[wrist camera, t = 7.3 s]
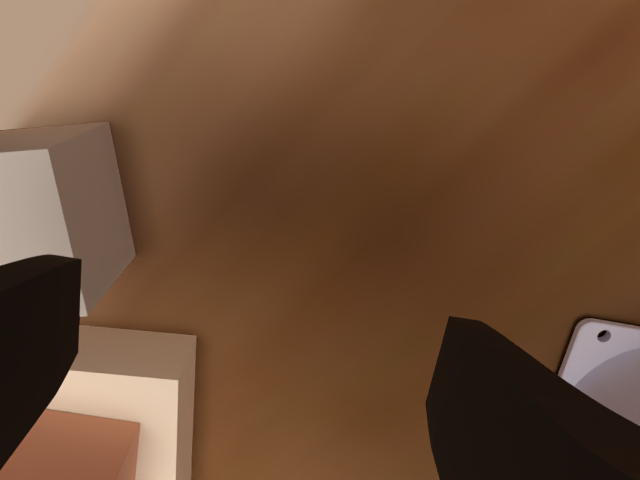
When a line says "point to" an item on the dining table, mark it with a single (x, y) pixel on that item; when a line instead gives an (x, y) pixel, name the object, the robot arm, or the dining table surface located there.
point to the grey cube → (65, 202)
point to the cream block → (138, 392)
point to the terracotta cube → (75, 449)
